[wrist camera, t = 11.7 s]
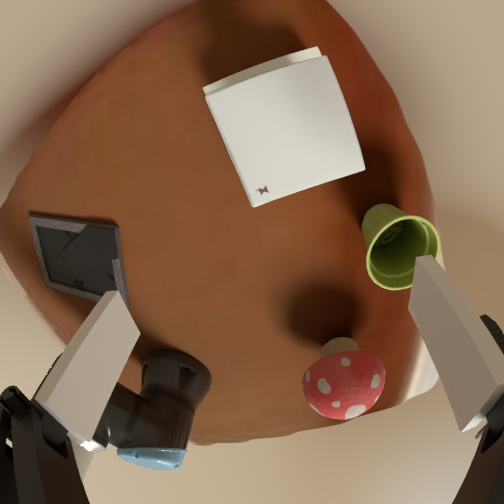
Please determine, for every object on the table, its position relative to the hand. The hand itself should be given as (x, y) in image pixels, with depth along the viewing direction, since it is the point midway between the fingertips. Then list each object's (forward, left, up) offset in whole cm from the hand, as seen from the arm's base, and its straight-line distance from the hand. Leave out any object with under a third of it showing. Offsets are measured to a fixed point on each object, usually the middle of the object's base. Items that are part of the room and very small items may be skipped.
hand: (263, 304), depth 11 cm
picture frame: (-36, -9, -26) cm, 45 cm away
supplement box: (+2, +6, -19) cm, 20 cm away
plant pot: (+14, -9, -25) cm, 30 cm away
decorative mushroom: (+8, -31, -25) cm, 40 cm away
